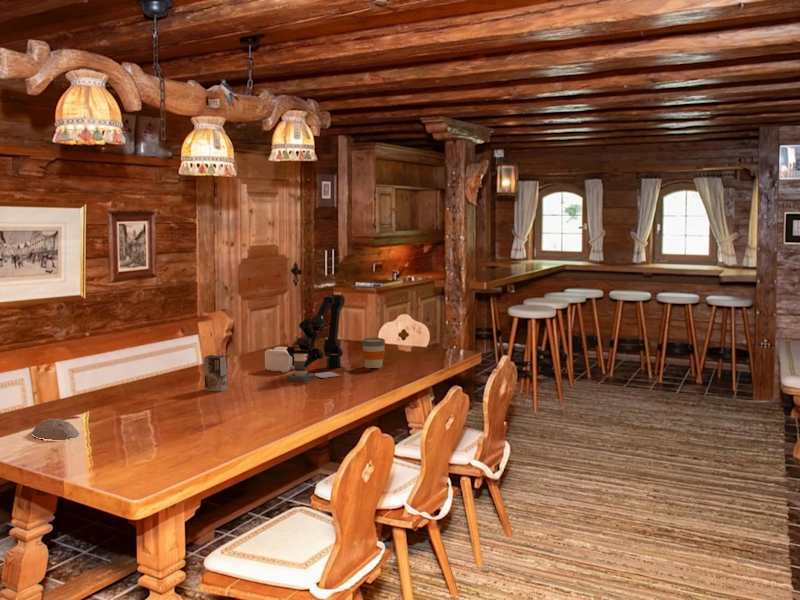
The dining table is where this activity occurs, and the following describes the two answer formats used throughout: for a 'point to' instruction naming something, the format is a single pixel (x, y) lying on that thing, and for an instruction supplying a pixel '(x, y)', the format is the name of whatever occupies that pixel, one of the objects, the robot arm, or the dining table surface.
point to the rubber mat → (326, 374)
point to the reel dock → (300, 379)
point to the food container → (55, 430)
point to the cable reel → (300, 364)
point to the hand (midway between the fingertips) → (299, 366)
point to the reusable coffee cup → (373, 352)
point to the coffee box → (215, 373)
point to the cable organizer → (278, 359)
